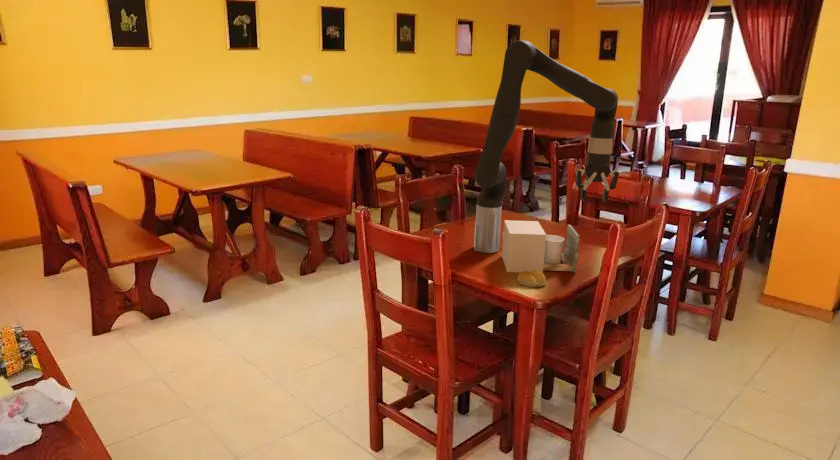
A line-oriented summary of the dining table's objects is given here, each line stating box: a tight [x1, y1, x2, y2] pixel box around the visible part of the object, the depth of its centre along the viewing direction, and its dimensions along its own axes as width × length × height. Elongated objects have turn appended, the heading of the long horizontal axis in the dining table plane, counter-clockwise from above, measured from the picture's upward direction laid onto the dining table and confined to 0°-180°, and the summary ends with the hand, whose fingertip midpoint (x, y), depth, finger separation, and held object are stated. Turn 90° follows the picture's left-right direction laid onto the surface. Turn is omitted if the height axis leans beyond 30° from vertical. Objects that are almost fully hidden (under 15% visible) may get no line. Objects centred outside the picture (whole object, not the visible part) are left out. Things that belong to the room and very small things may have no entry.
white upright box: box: [501, 219, 547, 274], centre depth 199 cm, size 12×16×14 cm
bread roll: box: [516, 270, 547, 288], centre depth 184 cm, size 8×9×4 cm
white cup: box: [544, 234, 566, 264], centre depth 199 cm, size 8×8×10 cm
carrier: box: [543, 224, 581, 273], centre depth 199 cm, size 14×14×13 cm
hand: (593, 200), depth 194 cm, fingers open, 6 cm apart
